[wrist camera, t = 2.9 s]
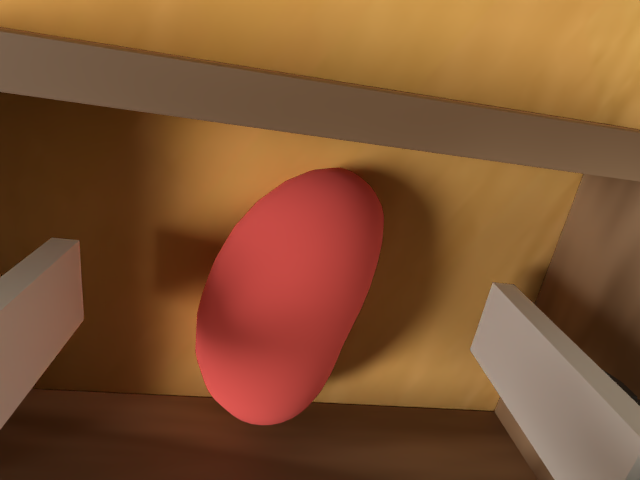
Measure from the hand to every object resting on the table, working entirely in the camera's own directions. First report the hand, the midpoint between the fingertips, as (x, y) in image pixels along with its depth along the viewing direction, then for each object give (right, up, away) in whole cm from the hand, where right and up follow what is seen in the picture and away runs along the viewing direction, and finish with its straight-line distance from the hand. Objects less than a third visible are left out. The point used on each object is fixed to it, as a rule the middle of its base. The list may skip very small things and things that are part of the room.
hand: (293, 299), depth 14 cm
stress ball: (-1, +1, +3) cm, 3 cm away
